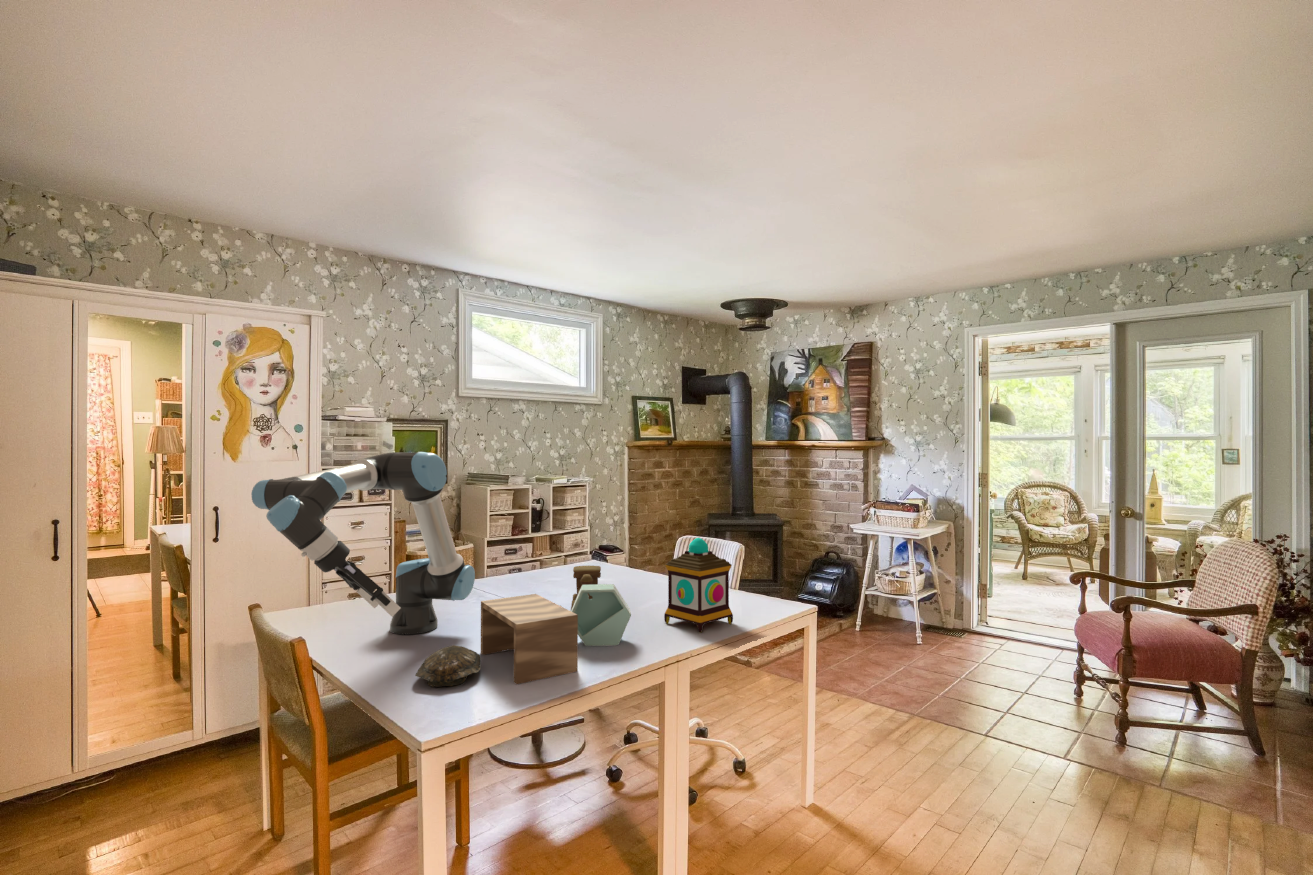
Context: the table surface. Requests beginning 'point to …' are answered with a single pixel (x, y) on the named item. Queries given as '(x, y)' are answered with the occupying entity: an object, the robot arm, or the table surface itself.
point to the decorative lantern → (698, 586)
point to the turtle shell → (449, 666)
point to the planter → (601, 615)
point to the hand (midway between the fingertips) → (387, 608)
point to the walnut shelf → (531, 635)
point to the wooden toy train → (585, 578)
